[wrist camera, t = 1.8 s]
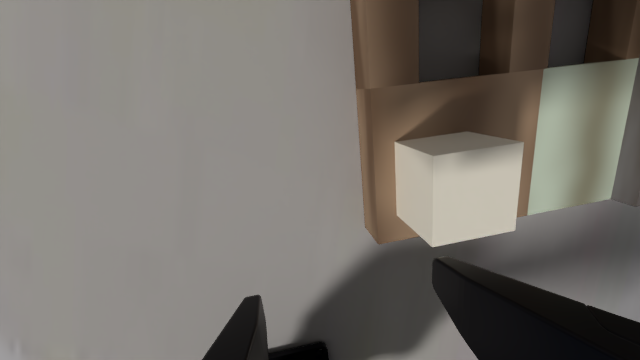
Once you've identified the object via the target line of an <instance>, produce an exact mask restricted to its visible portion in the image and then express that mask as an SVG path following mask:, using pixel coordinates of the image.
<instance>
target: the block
mask: <svg viewBox="0 0 640 360" xmlns="http://www.w3.org/2000/svg"><path fill="white" fill-rule="evenodd" d="M523 147H524V142H521V141H515V140H510V139H505V138H499V137H494V136H489V135H483V134H478V133H472V132H460V133H453V134H446V135H439V136H432V137H425V138H418V139H411V140H404V141H397V142H395V175H396V208H397V216H398V217H399V218H400V219H402V220H403V221H404V222H405V223H406V224H407V225H408V226H409V227H410V228H412V229H413V230H414V231H415V232H416V233H417V234H418V235H419V236H420V237H421V238H423V239H424V240H425V241H426V242H427V243H428V244H429V245H430V246H431V247H437V246H442V245H447V244H452V243H456V242H461V241H466V240H471V239H476V238H481V237H486V236H491V235H496V234H501V233H506V232H511V231H515V226H516V216H517V207H518V197H519V187H520V177H521V167H522V157H523Z"/></svg>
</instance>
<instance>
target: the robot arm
mask: <svg viewBox="0 0 640 360" xmlns="http://www.w3.org/2000/svg"><path fill="white" fill-rule="evenodd" d="M432 284H433V287H434V290H435V292H436V293H437V295H438V297H439V299H440V300H441V302H442V304H443V305H444V307H445V309H446V311H447V312H448V314H449V316H450V317H451V319H452V321H453V323H454V324H455V326H456V328H457V329H458V331H459V333H460V334H461V336H462V337H463V339H464V340H465V342H466V343H467V344H468V346H469V347H470V349H471V350H472V351H473V353H474V354H475V356H476V357H477V358H478V360H640V323H639V322H636V321H633V320H630V319H627V318H624V317H621V316H618V315H615V314H612V313H609V312H607V311H604V310H601V309H598V308H595V307H592V306H589V305H587V306H586V305H585V304H583V303H581V302H578V301H575V300H572V299H569V298H566V297H563V296H561V295H558V294H555V293H552V292H549V291H546V290H543V289H540V288H538V287H535V286H532V285H529V284H526V283H523V282H520V281H517V280H515V279H512V278H509V277H506V276H503V275H500V274H497V273H494V272H492V271H489V270H486V269H483V268H480V267H477V266H474V265H472V264H469V263H466V262H463V261H460V260H457V259H454V258H451V257H449V256H443V257H438V258H435V259H434V260H433V263H432ZM320 349H322V350H320ZM202 360H329V358H328V350H327V346H326V344H325V343H323V342H319V343H315V344H310V345H306V346H302V347H298V348H294V349H289V350H285V351H281V352H277V353H273V354H269V355H268V344H267V329H266V320H265V315H264V310H263V304H262V299H261V296H260V295H254V296H249V297H246V298H244V300H243V301H242V303H241V304H240V305H239V307H238V308H237V310H236V311H235V313H234V314H233V316H232V317H231V318H230V320H229V321H228V323H227V324H226V326H225V327H224V329H223V330H222V331H221V333H220V334H219V336H218V337H217V339H216V340H215V342H214V343H213V344H212V346H211V347H210V349H209V350H208V352H207V353H206V355H205V356H204V358H203V359H202Z"/></svg>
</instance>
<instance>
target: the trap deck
mask: <svg viewBox="0 0 640 360" xmlns="http://www.w3.org/2000/svg"><path fill="white" fill-rule="evenodd" d="M350 3H351V18H352V34H353V49H354V64H355V79H356V94H357V110H358V125H359V140H360V155H361V171H362V186H363V201H364V216H365V228H366V229H367V230H368V231H369V233H370V234H371V235H372V237H373V238H374V239H375V241H376V242H377V243H378V244H383V243H388V242H393V241H399V240H404V239H409V238H414V237H419V235H418V234H417V233H416V232H415V231H414V230H413V229H412V228H410V227H409V226H408V225H407V224H406V223H405V222H404V221H403V220H402V219H400V218H399V217H398V216H397V208H396V175H395V142H397V141H404V140H411V139H418V138H425V137H432V136H439V135H446V134H453V133H460V132H472V133H478V134H483V135H489V136H494V137H499V138H505V139H510V140H515V141H521V142H524V147H523V157H522V167H521V177H520V187H519V197H518V207H517V216H516V217H521V216H526V215H532V214H537V213H542V212H547V211H552V210H557V209H562V208H567V207H572V206H578V205H583V204H588V203H593V202H598V201H603V200H608V199H612V200H615V201H619V202H622V203H625V204H629V205H632V206H635V207H637V206H640V0H593V6H592V13H591V19H590V26H589V33H588V39H587V46H586V53H585V59H584V63H583V64H574V65H565V66H557V67H548V60H549V51H550V42H551V34H552V25H553V17H554V8H555V0H483V5H482V24H481V43H480V62H479V75H477V76H469V77H460V78H451V79H442V80H433V81H425V82H419V0H350Z"/></svg>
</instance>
